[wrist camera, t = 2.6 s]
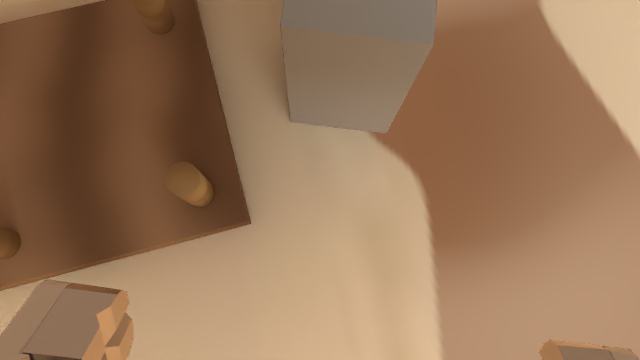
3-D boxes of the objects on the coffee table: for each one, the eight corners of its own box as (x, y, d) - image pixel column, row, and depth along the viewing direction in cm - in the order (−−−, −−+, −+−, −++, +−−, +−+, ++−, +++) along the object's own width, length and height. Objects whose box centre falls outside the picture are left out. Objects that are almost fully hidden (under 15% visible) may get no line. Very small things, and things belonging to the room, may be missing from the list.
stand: (194, -6, 27) (171, -65, 23) (251, 223, 25) (238, 210, 20) (-49, 49, 26) (-125, 1, 22) (-14, 294, 24) (-92, 298, 19)
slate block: (394, 44, 27) (444, -90, 17) (386, 133, 26) (433, 44, 16) (302, 33, 27) (299, -107, 17) (290, 121, 26) (280, 26, 16)
